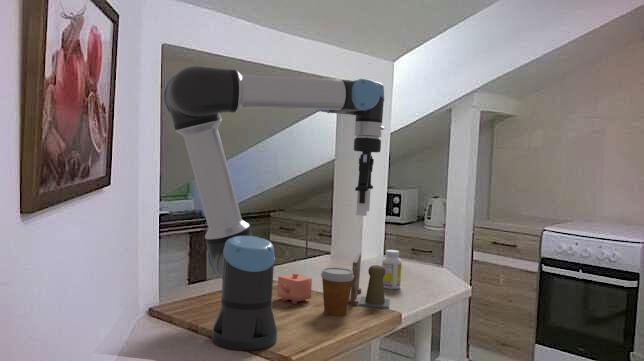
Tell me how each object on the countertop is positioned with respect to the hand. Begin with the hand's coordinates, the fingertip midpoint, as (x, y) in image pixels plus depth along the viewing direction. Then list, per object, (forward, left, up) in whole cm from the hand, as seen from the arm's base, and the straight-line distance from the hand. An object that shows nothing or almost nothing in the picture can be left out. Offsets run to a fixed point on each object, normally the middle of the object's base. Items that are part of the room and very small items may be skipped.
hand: (363, 213), depth 148 cm
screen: (-2, +17, -29) cm, 33 cm away
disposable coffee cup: (-6, -1, -29) cm, 30 cm away
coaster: (+4, +13, -29) cm, 32 cm away
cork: (+5, +13, -28) cm, 32 cm away
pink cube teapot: (-20, +7, -29) cm, 36 cm away
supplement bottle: (+9, +36, -29) cm, 47 cm away
